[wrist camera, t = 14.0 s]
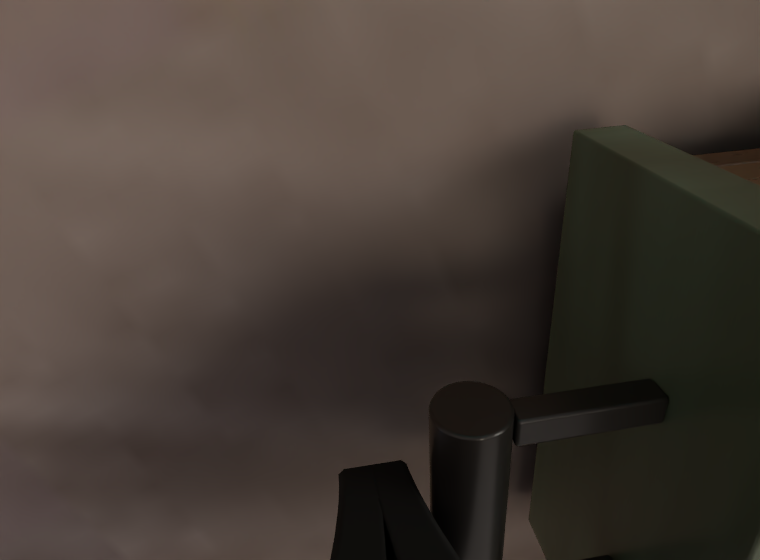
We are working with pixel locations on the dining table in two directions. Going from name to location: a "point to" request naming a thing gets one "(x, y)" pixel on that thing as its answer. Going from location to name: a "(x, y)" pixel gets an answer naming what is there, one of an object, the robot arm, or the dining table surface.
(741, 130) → the dining table surface
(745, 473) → the drawer
